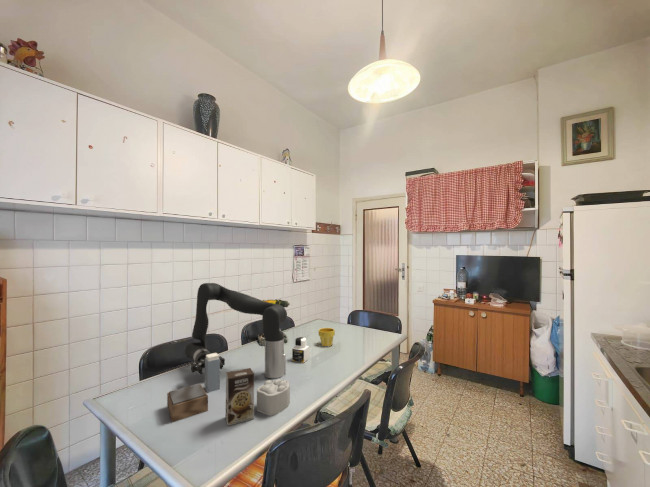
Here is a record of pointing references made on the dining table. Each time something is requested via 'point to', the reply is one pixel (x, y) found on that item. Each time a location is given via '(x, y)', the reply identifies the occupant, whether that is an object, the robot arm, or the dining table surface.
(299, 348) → the medicine bottle
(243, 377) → the coffee box
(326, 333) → the plant pot
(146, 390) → the dining table surface
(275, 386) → the lumpy-topped squat cylinder
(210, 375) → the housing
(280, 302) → the cordless drill
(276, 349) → the robot arm
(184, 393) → the stand
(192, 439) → the dining table surface
